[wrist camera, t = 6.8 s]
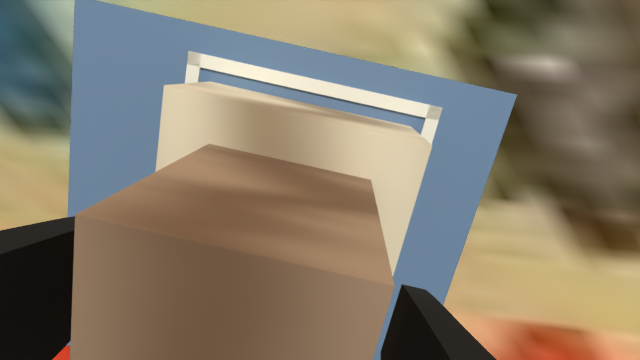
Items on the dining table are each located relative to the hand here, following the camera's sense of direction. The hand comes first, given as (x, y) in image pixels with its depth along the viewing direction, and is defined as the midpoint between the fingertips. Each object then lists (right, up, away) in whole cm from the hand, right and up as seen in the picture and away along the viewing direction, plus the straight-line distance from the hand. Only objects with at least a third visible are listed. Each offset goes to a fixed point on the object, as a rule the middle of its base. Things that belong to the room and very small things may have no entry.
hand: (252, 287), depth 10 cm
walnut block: (0, +1, +3) cm, 3 cm away
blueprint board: (-1, 0, +8) cm, 8 cm away
